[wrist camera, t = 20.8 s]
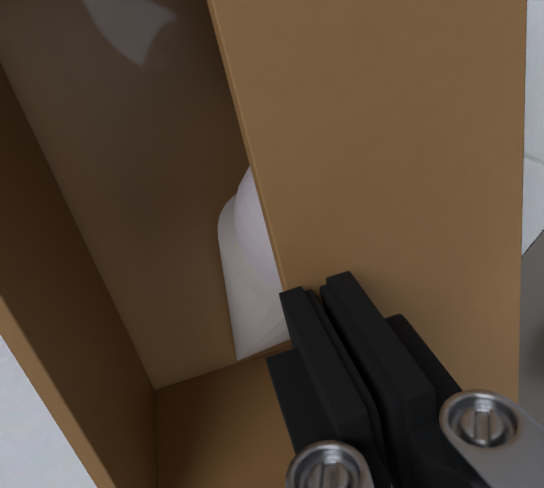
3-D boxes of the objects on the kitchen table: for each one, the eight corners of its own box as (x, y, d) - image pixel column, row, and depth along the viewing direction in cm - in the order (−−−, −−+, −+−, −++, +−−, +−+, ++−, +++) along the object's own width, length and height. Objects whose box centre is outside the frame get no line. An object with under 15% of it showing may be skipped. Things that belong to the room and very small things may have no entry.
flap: (173, -123, 8) (178, -129, 8) (515, -199, 9) (533, -207, 9) (346, 536, 17) (352, 547, 16) (509, 452, 18) (517, 461, 17)
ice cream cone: (166, 305, 25) (260, 3, 14) (282, 306, 27) (438, 47, 16) (177, 431, 21) (316, 146, 10) (311, 420, 23) (536, 177, 13)
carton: (-51, -18, 16) (-225, -18, 8) (347, -119, 17) (506, -197, 9) (148, 393, 24) (149, 571, 17) (400, 309, 26) (504, 443, 18)
